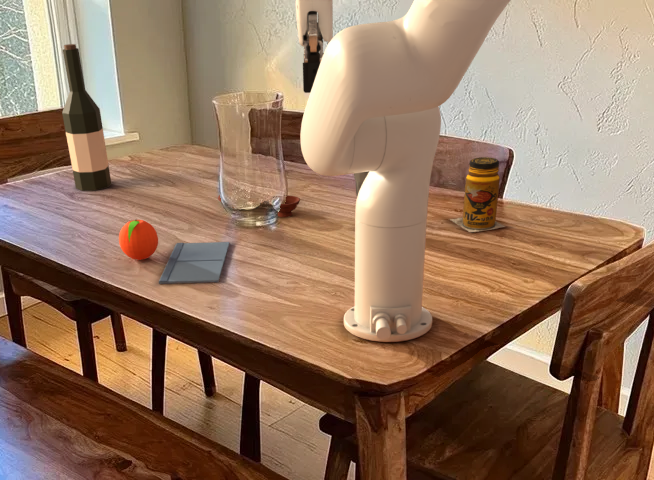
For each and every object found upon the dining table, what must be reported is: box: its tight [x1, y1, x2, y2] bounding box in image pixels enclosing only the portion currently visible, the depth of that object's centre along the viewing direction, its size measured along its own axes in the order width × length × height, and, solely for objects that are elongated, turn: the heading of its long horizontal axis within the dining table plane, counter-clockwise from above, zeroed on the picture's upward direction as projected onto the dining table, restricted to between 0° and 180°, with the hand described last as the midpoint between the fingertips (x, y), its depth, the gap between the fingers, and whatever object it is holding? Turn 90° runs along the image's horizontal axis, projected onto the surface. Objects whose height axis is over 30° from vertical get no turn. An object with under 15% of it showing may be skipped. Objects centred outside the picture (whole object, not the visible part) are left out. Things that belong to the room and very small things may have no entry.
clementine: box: [118, 219, 159, 261], centre depth 139 cm, size 8×7×7 cm
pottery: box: [217, 194, 301, 218], centre depth 162 cm, size 12×20×4 cm, turn 47°
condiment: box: [449, 156, 506, 233], centre depth 146 cm, size 7×8×12 cm
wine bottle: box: [61, 43, 112, 192], centre depth 177 cm, size 8×8×30 cm
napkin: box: [158, 241, 231, 285], centre depth 138 cm, size 19×10×1 cm, turn 177°
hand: (314, 86), depth 120 cm, fingers open, 9 cm apart
